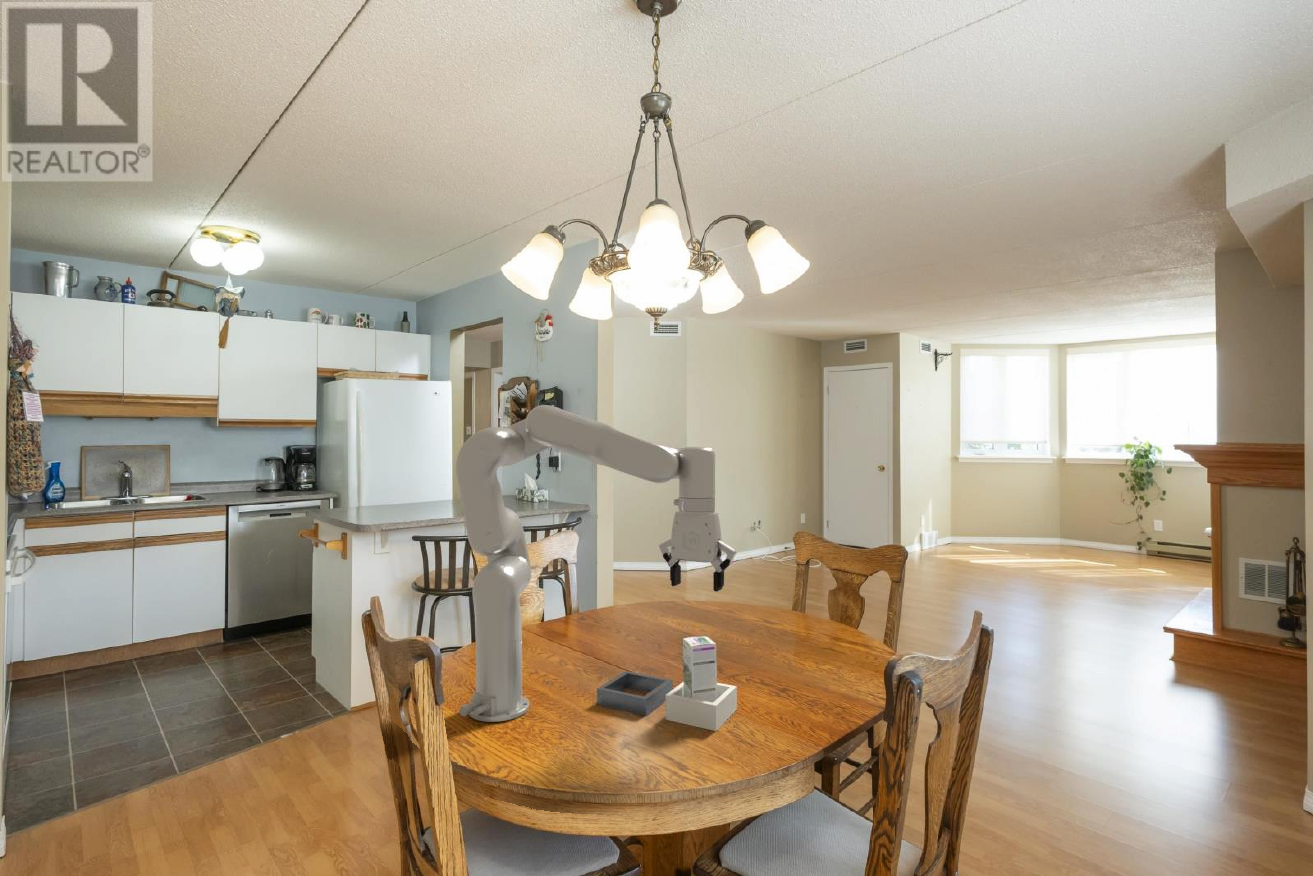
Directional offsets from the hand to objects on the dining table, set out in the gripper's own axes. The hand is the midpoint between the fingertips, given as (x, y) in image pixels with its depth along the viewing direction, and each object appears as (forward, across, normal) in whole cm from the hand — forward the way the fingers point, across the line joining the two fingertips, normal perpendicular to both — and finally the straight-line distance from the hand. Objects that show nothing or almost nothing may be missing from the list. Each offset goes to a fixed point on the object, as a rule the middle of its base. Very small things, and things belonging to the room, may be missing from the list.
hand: (696, 587), depth 135 cm
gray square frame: (+26, -15, 0) cm, 30 cm away
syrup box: (+26, +1, 0) cm, 26 cm away
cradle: (+26, +1, 0) cm, 26 cm away
